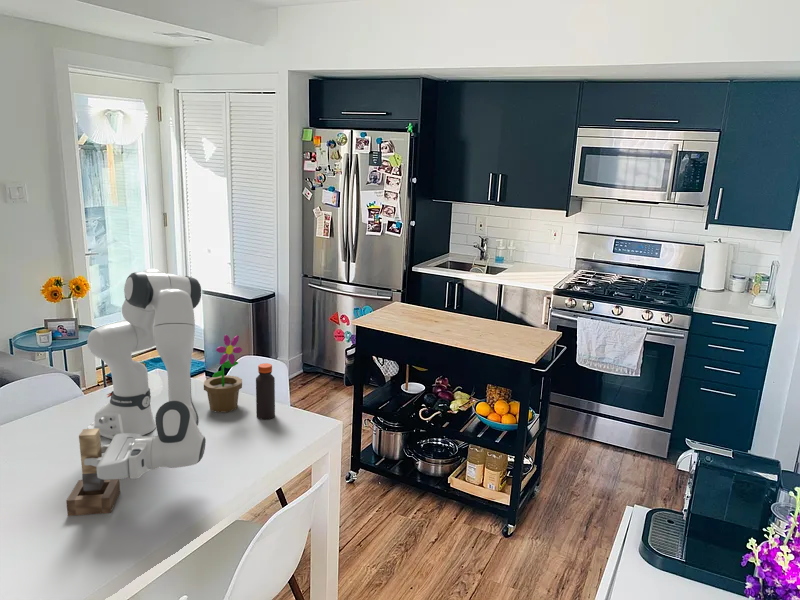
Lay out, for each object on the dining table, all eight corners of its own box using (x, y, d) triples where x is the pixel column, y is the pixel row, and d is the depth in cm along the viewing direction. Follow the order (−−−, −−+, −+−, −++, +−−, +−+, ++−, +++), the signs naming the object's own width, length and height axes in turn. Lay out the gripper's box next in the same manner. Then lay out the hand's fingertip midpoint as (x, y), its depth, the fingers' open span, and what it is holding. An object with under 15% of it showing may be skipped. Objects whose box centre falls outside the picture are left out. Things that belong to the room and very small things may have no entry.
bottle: (278, 415, 226) (278, 364, 222) (265, 421, 220) (265, 369, 216) (265, 411, 229) (265, 361, 225) (252, 417, 224) (251, 365, 219)
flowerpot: (222, 417, 222) (220, 339, 216) (196, 408, 230) (193, 332, 223) (251, 405, 234) (249, 331, 227) (225, 397, 241) (223, 324, 235)
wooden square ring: (120, 492, 171) (119, 477, 170) (110, 512, 161) (109, 497, 160) (80, 494, 169) (78, 480, 168) (67, 515, 159) (66, 500, 158)
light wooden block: (104, 482, 166) (99, 428, 163) (100, 490, 162) (95, 434, 159) (88, 483, 165) (83, 429, 162) (83, 491, 161) (78, 435, 158)
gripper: (149, 426, 174) (97, 429, 171) (133, 459, 154) (74, 463, 151) (150, 446, 175) (99, 449, 172) (135, 482, 156) (77, 486, 153)
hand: (87, 456), depth 162 cm, fingers closed on light wooden block, 4 cm apart
